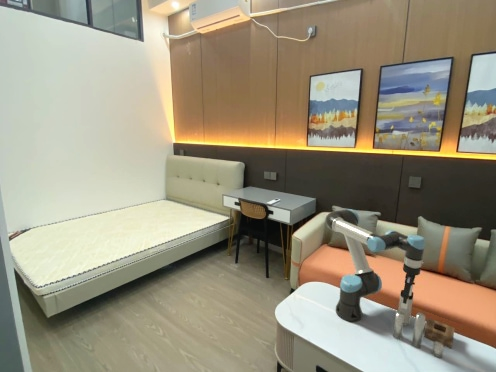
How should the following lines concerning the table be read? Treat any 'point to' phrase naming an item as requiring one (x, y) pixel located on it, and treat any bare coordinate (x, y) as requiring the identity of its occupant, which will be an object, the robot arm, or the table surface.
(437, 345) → the pin short
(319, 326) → the table surface
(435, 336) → the hole block
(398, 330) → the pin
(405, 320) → the travel mug
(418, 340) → the pin long
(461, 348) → the table surface
